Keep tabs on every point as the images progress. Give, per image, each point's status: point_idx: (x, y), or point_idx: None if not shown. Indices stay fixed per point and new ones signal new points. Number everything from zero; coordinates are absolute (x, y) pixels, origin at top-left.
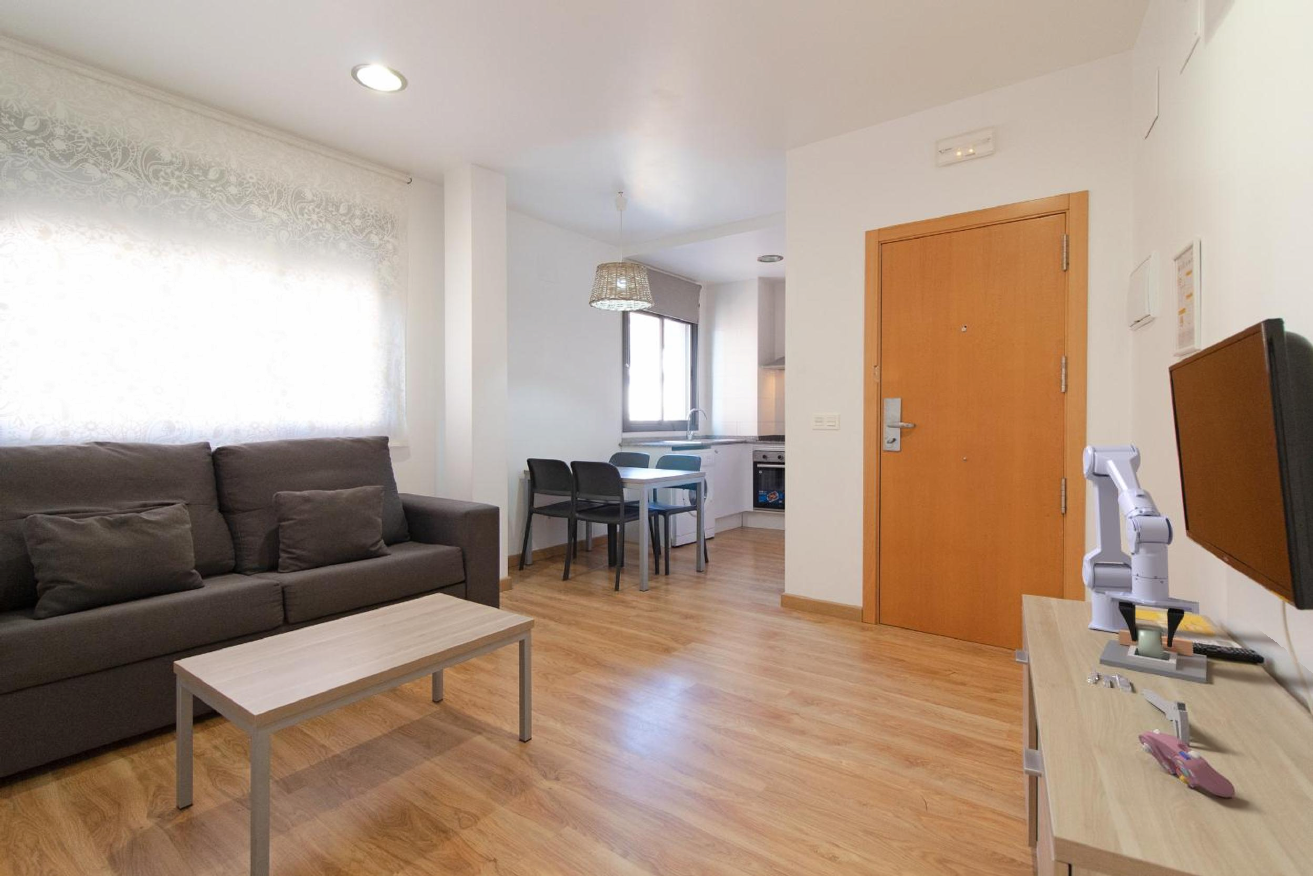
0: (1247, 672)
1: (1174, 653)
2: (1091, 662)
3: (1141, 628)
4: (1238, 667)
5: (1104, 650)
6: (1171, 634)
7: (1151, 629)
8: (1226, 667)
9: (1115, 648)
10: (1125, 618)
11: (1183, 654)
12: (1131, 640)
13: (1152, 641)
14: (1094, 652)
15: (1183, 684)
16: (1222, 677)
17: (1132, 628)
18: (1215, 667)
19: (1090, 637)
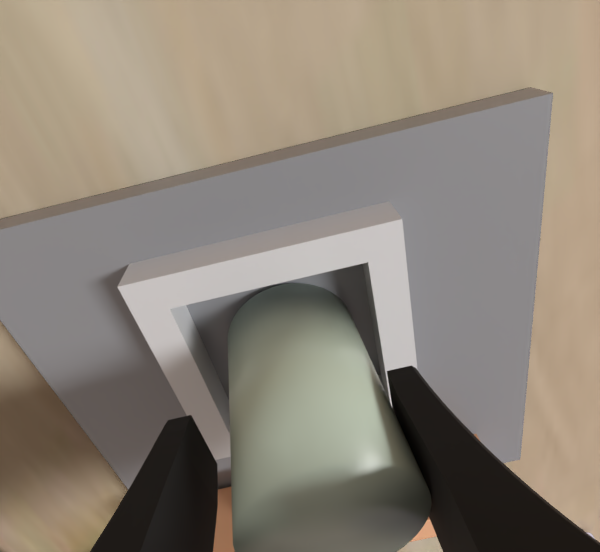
0: (9, 500)
1: (216, 447)
2: (580, 74)
3: (384, 508)
4: (62, 522)
5: (530, 298)
6: (120, 523)
7: (304, 528)
8: (84, 498)
9: (481, 369)
10: (584, 548)
11: (218, 490)
12: None
13: (271, 398)
14: (564, 288)
15: (15, 101)
16: (8, 387)
17: (450, 453)
18: (105, 473)
19: (581, 459)
